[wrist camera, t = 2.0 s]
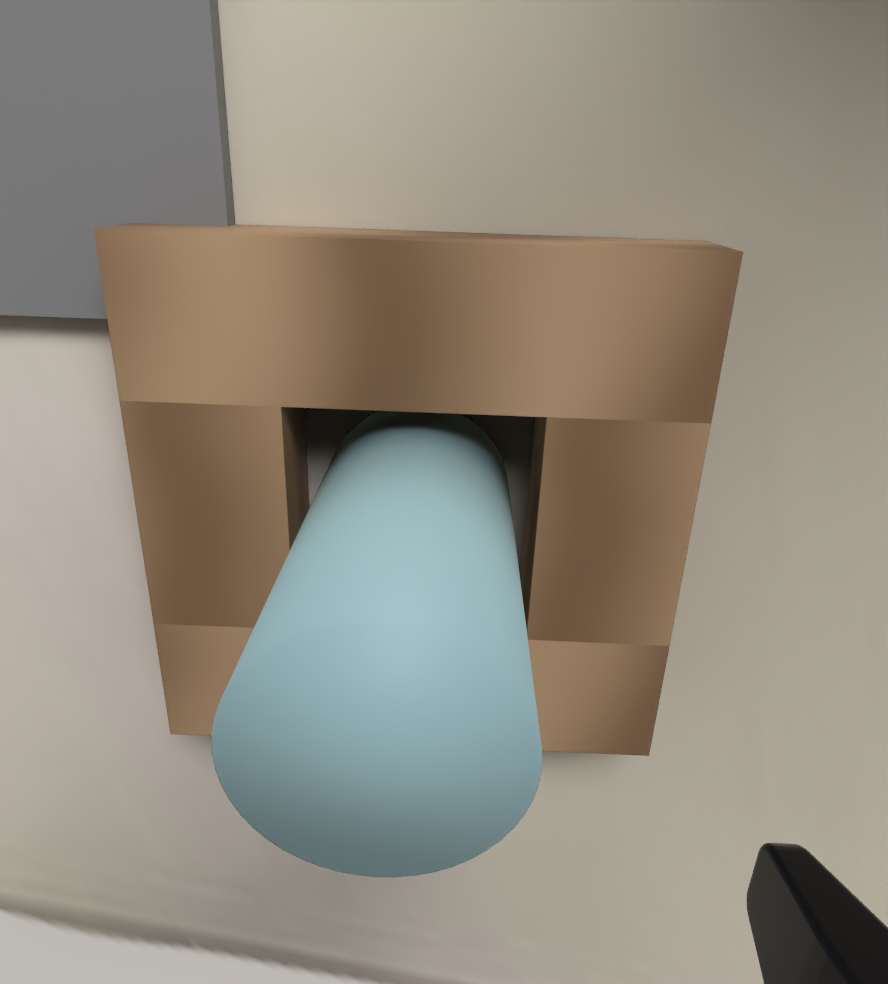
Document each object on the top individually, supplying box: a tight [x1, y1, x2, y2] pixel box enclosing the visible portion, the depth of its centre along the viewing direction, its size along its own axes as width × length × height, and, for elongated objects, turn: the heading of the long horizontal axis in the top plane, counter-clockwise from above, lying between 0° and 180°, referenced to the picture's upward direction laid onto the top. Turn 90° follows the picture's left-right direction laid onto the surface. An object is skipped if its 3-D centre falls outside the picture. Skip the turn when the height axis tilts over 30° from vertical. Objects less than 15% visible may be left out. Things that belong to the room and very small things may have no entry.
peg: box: [211, 411, 542, 877], centre depth 14 cm, size 4×4×9 cm
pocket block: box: [94, 223, 743, 756], centre depth 17 cm, size 12×12×2 cm
